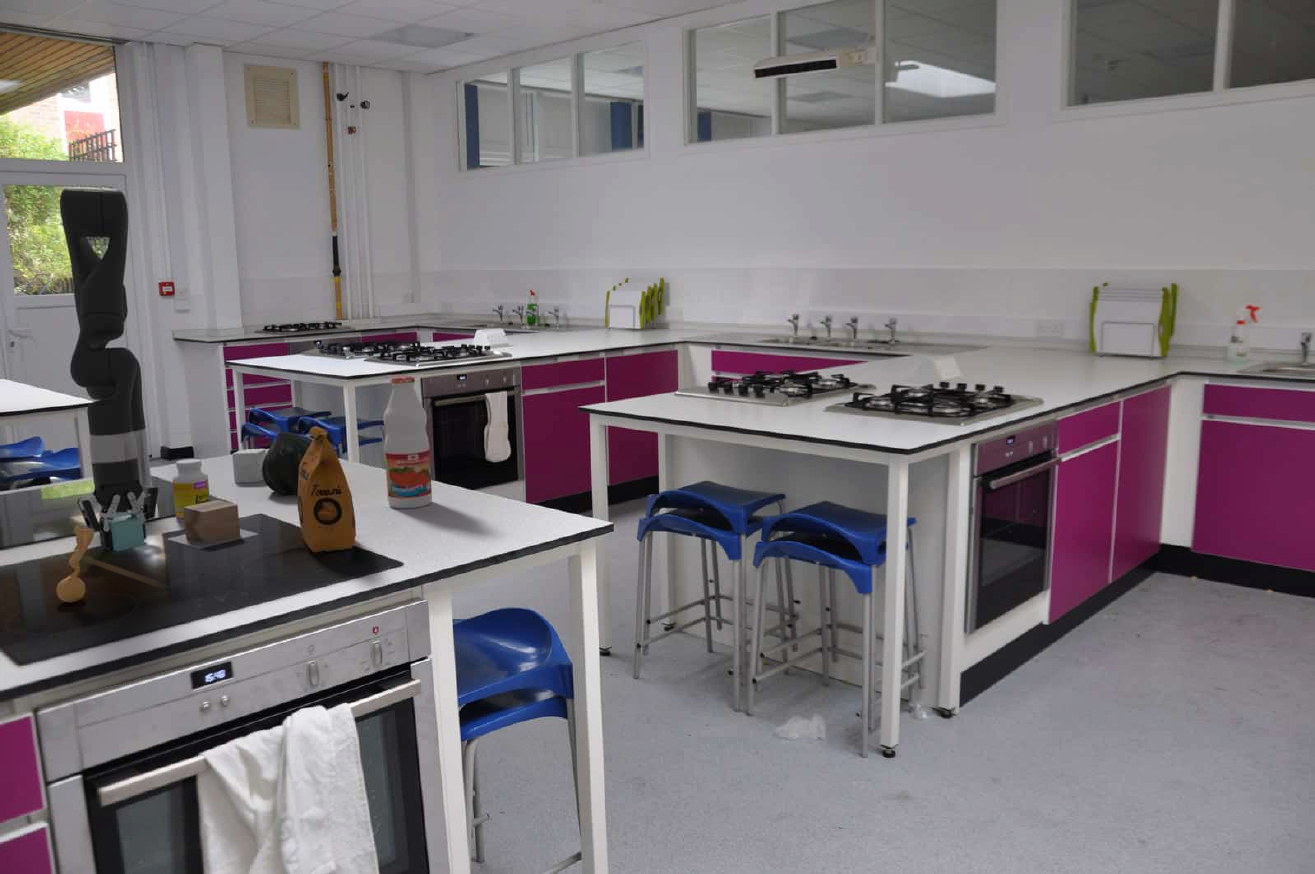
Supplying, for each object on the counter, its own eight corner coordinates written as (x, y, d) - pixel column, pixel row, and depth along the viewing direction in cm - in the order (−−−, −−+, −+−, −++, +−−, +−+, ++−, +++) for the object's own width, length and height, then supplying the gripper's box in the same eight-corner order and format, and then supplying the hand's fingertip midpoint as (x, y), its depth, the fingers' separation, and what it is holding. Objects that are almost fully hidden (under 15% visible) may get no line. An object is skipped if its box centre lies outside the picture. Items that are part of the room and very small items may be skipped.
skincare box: (258, 482, 246) (256, 453, 245) (234, 483, 247) (231, 453, 245) (268, 477, 252) (266, 448, 251) (244, 477, 252) (241, 448, 251)
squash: (350, 466, 236) (316, 416, 239) (297, 481, 224) (262, 428, 227) (324, 500, 244) (292, 451, 247) (271, 516, 231) (238, 464, 234)
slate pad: (167, 543, 193) (166, 538, 192) (226, 530, 202) (225, 525, 202) (200, 553, 186) (199, 548, 185) (259, 539, 195) (259, 534, 195)
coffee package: (302, 557, 183) (292, 437, 179) (300, 539, 194) (291, 426, 190) (359, 550, 186) (350, 432, 182) (354, 534, 197) (346, 423, 194)
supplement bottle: (198, 526, 205) (192, 464, 203) (169, 525, 207) (163, 463, 204) (218, 518, 212) (213, 458, 210) (190, 517, 213) (184, 457, 211)
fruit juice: (428, 497, 227) (420, 373, 223) (436, 506, 219) (428, 377, 214) (385, 502, 224) (377, 376, 219) (391, 511, 215) (383, 380, 210)
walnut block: (186, 537, 193) (183, 507, 192) (220, 529, 198) (217, 500, 197) (205, 543, 189) (202, 512, 188) (240, 535, 194) (237, 504, 193)
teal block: (104, 552, 188) (101, 520, 187) (131, 545, 192) (128, 515, 191) (117, 556, 185) (114, 524, 184) (145, 550, 189) (141, 518, 188)
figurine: (57, 596, 163) (49, 524, 161) (100, 590, 166) (92, 519, 164) (58, 611, 156) (48, 536, 153) (102, 604, 159) (94, 530, 156)
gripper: (143, 448, 193) (152, 535, 196) (63, 461, 182) (74, 552, 185) (163, 452, 189) (172, 540, 192) (82, 465, 177) (93, 559, 180)
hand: (124, 546), depth 188 cm, fingers closed on teal block, 5 cm apart
